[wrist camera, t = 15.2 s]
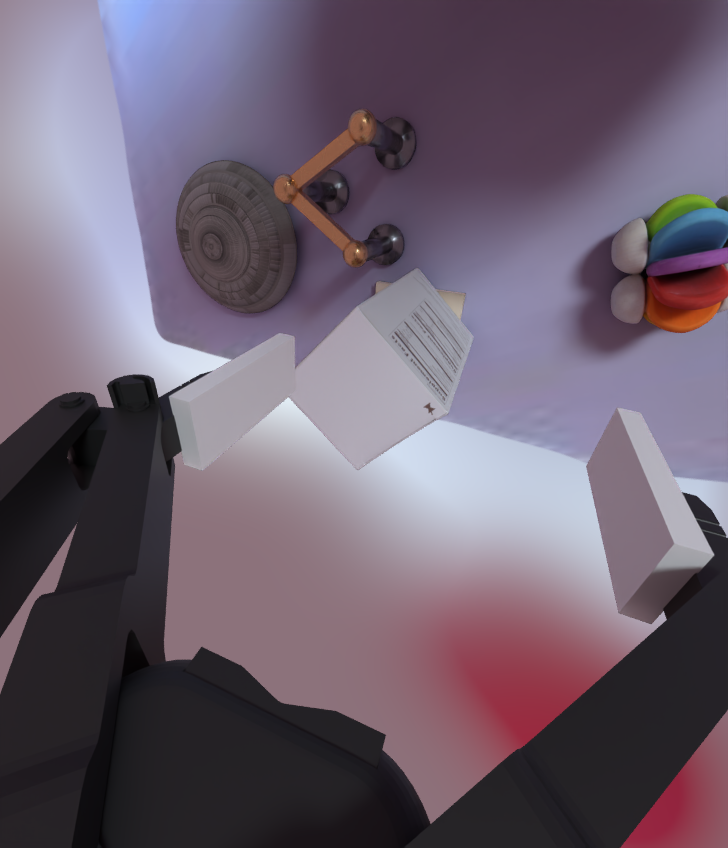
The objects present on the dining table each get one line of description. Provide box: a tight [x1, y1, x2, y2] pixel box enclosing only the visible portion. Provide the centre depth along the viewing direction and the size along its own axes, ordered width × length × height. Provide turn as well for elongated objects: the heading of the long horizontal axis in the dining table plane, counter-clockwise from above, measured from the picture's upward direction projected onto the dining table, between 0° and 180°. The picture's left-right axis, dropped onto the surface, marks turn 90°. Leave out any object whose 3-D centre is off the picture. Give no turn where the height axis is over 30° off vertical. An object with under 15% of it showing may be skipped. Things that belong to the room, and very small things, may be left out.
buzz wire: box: [273, 109, 416, 268], centre depth 32 cm, size 12×10×10 cm
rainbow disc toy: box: [611, 194, 728, 333], centre depth 28 cm, size 8×10×7 cm
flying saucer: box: [176, 160, 297, 313], centre depth 40 cm, size 15×15×6 cm
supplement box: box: [289, 268, 474, 470], centre depth 33 cm, size 10×9×17 cm
